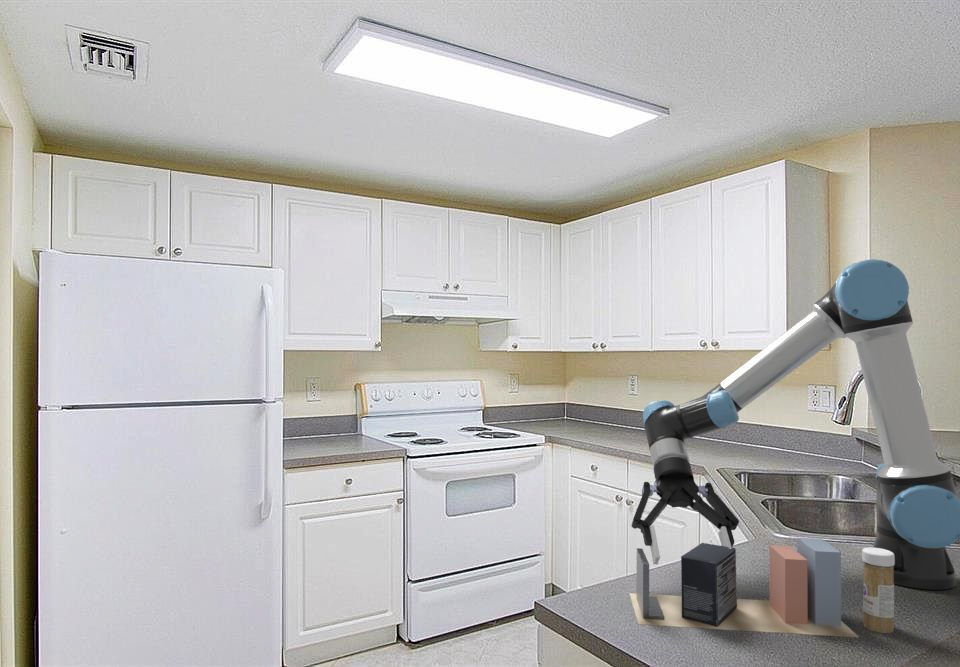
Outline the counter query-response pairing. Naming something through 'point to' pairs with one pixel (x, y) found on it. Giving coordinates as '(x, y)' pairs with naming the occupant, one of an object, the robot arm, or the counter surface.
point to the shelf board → (738, 618)
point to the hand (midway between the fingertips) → (693, 561)
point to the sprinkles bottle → (878, 589)
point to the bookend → (646, 590)
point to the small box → (708, 583)
